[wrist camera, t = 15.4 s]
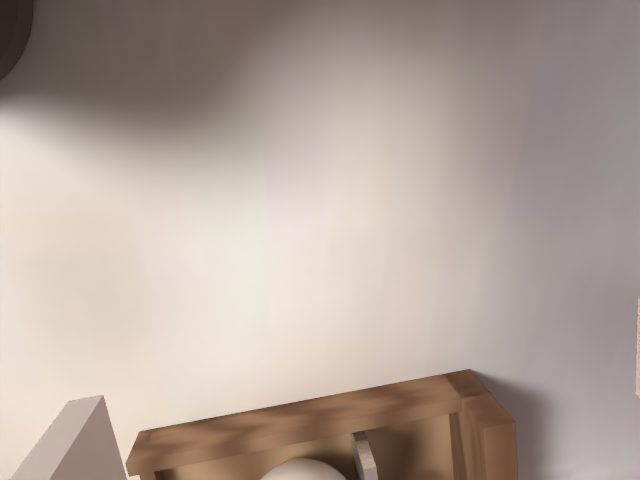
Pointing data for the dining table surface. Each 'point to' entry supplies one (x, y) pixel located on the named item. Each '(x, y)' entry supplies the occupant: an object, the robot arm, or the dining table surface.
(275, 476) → the lidded jar
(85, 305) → the dining table surface
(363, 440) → the pusher
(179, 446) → the wooden tray
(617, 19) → the dining table surface
